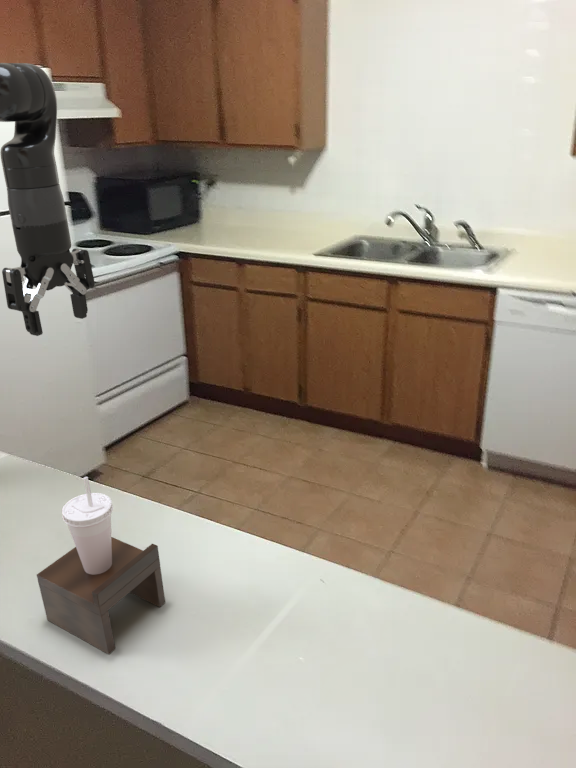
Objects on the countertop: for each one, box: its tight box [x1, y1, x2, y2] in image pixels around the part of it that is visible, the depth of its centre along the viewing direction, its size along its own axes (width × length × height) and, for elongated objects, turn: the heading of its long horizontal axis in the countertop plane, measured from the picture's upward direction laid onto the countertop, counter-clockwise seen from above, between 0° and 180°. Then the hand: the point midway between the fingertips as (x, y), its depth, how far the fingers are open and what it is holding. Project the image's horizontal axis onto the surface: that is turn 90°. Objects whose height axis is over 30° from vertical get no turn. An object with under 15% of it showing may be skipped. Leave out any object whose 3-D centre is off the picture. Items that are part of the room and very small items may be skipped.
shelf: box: [36, 536, 166, 655], centre depth 92 cm, size 12×11×10 cm
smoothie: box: [61, 476, 114, 575], centre depth 88 cm, size 6×6×14 cm
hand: (59, 325), depth 102 cm, fingers open, 8 cm apart
